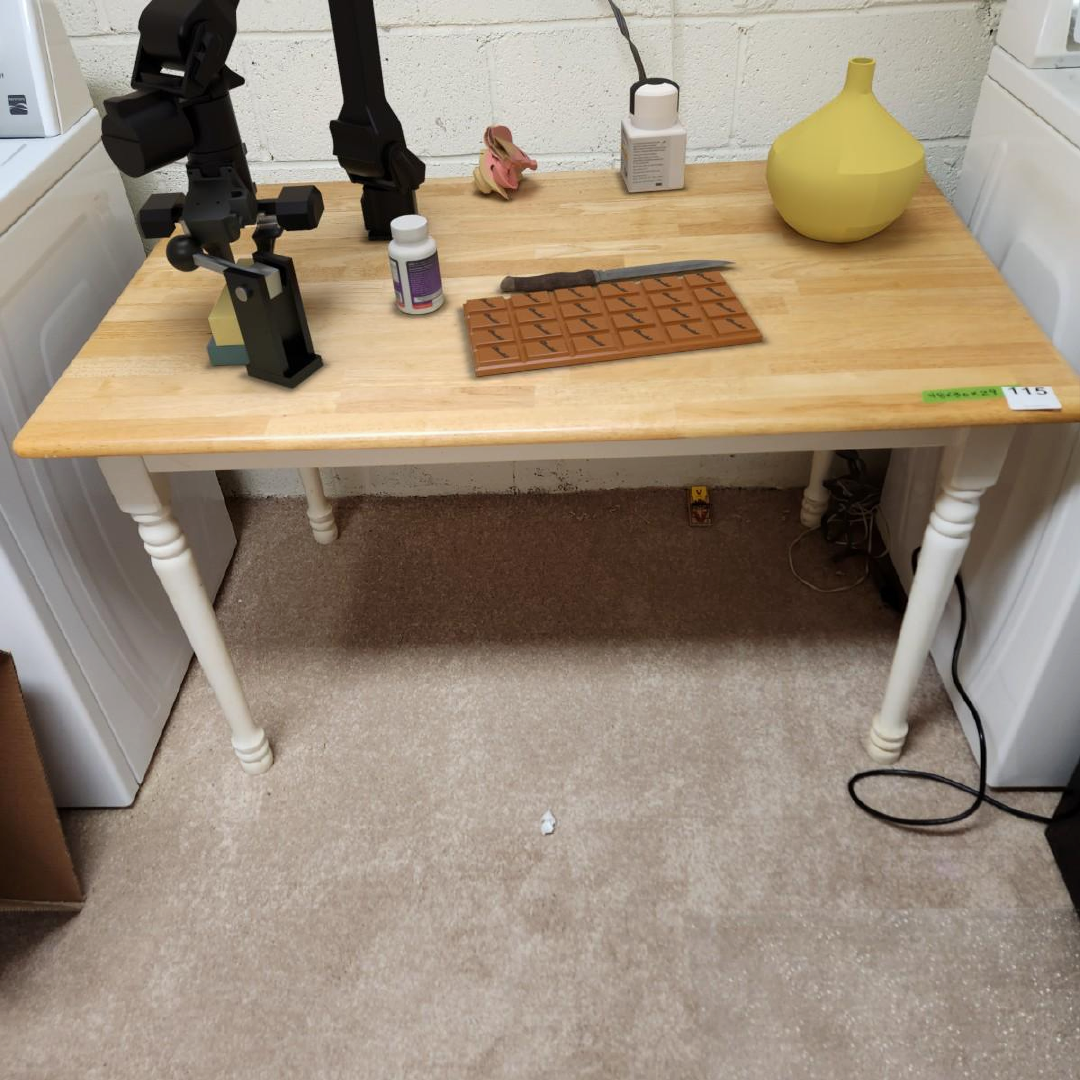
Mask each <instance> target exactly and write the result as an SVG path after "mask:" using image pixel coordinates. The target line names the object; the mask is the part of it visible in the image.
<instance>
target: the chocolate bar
mask: <svg viewBox="0 0 1080 1080" xmlns="http://www.w3.org/2000/svg"><path fill="white" fill-rule="evenodd" d="M553 291H554V292H553V293H552V292H551V293H548V291H532V292H526V293H525V292H524V293H516V294H510V297H508V298H504V296H503V295H499V296H498V295H497V296H491V297H490V296H489V297H481V298H474V299H466V303H462V309H463V315H464V321H465V325H466V331H467V337H468V340H469V345H470V350H471V356H472V360H473V366H474V370H475V374H476V377H482V376H491V375H501V374H508V373H517V372H524V371H532V370H541V369H549V368H555V367H557V368H558V367H565V366H574V365H580V364H589V363H596V362H597V363H598V362H605V361H612V360H621V359H629V358H630V359H631V358H637V357H646V356H654V355H661V354H662V355H663V354H671V353H678V352H686V351H695V350H703V349H710V348H718V347H726V346H735V345H743V344H751V343H753V344H754V343H761V342H763V334H762V332H761V331H760V329H759V328H758V327H757V325H756V324H755V322H754V321H753V320H752V318H751V317H750V314H749V313H748V312H747V310H746V309H745V308H744V306H743V305H742V303H741V302H740V300H739V298H738V297H737V296H736V294H735V293H734V291H733V290H732V288H731V286H730V285H729V284H728V282H727V281H726V279H725V278H724V277H723V274H722V273H721V272H720V271H719V270H715V271H707V272H699V273H690V274H683V277H682V278H678V276H677V275H673V276H664V277H663V276H661V277H654V278H647V279H640V282H639V283H635V281H634V280H627V281H619V282H611V283H602V284H597V286H596V288H592V285H590V286H577V287H572V288H567V289H559V290H553Z"/></svg>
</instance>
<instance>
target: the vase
mask: <svg viewBox="0 0 1080 1080" xmlns="http://www.w3.org/2000/svg"><path fill="white" fill-rule="evenodd" d="M876 63H877V60H876V59H875V58H872V57H867V56H856V57H851V58H849V59H848V64H847V70H846V76H845V82H844V84H843V88H842V89H841V91H840V92H838V94H837V95H836V96H835V97H834V98H833V99H832V100H830V101H829V102H827V103H826V104H824V105H822V106H821V107H820V108H819V109H817V110H816V111H814V112H813V113H811V114H810V115H808V116H807V117H806V118H804V119H802V120H801V121H799V122H798V123H796V124H794V125H793V126H790V128H788V129H786V130H785V131H784V132H782V133H780V134H779V135H778V136H777V137H776V138H775V139H774V140H773V143H772V144H771V146H770V149H769V151H768V153H767V158H766V170H765V180H766V182H767V185H768V190H769V193H770V197H771V201H772V203H773V204H774V207H775V208H776V210H777V211H778V212H779V215H781V217H782V219H783V220H784V222H785V223H787V225H788V226H790V227H791V228H792V229H794V230H795V231H796V232H797V233H798V234H800V235H802V236H804V237H806V238H809V239H811V240H816V241H820V242H827V243H852V242H858V241H861V240H864V239H867V238H869V237H872V236H874V235H876V234H878V233H879V232H881V231H882V230H885V228H887V227H888V226H889V225H891V224H892V223H893V222H894V221H895V220H896V219H898V218H899V217H900V216H902V214H903V213H904V211H905V210H906V208H907V207H908V205H909V204H910V203H911V201H912V200H913V198H914V196H915V195H916V193H917V192H918V190H919V189H920V187H921V186H922V183H923V180H924V176H925V172H926V167H927V162H926V155H925V149H924V145H923V144H922V143H921V142H920V141H919V140H918V139H917V138H916V137H915V136H914V135H913V134H912V133H911V132H910V131H909V130H907V128H905V126H903V125H902V124H901V123H900V122H899V121H898V120H897V119H896V118H895V117H894V116H893V115H892V113H890V112H889V111H888V110H887V108H886V107H884V106H883V105H882V104H881V103H880V102H879V101H878V99H877V97H876V95H875V93H874V91H873V80H874V75H875V70H876Z"/></svg>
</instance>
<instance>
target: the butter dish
mask: <svg viewBox="0 0 1080 1080" xmlns="http://www.w3.org/2000/svg"><path fill="white" fill-rule="evenodd" d="M206 351H207V354H208V358H209V361H210V364H211V366H212V367H215V366H233V365H234V366H235V365H247V364H248V363H250V361H249V358H248V354H247V351H246V348H245V345H226V346H217V345H216V342H215V339H214V336H213V334H211V337H210V339H209V341H208V344H207V345H206Z"/></svg>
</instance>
